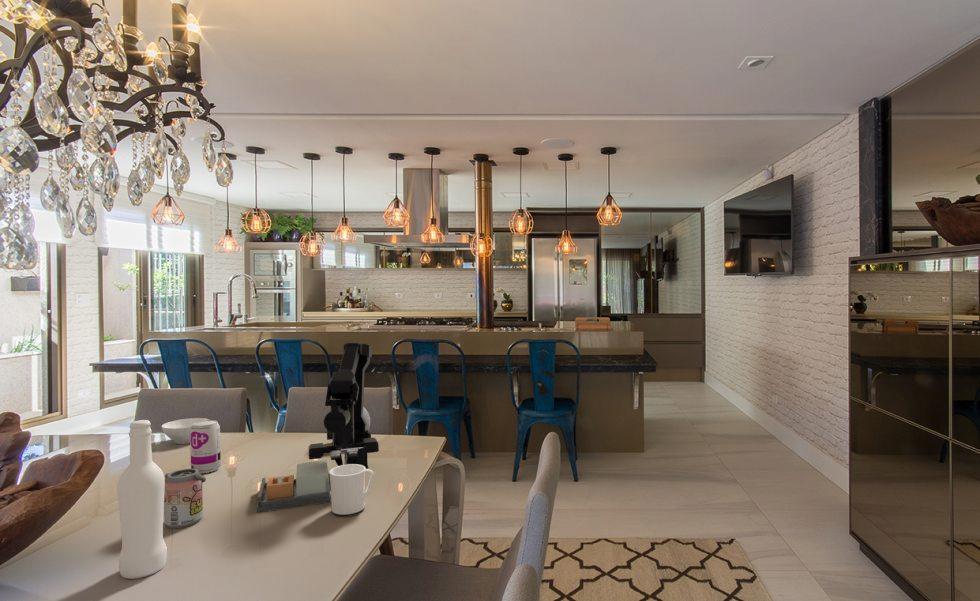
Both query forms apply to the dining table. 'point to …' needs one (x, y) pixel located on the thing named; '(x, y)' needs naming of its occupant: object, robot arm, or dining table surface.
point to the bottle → (141, 508)
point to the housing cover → (312, 478)
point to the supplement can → (205, 446)
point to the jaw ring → (280, 487)
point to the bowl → (180, 429)
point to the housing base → (289, 498)
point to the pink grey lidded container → (183, 498)
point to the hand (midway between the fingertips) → (344, 478)
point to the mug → (349, 489)
